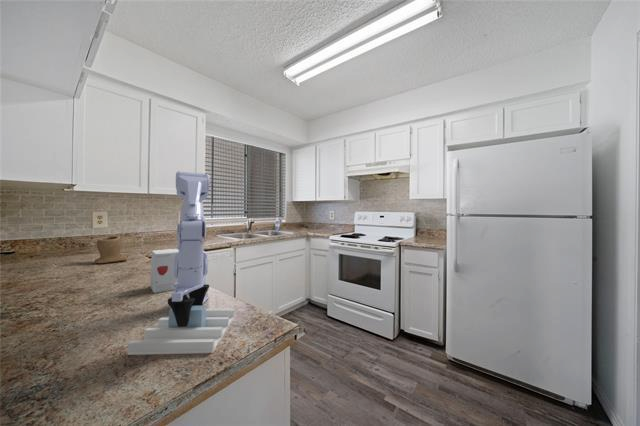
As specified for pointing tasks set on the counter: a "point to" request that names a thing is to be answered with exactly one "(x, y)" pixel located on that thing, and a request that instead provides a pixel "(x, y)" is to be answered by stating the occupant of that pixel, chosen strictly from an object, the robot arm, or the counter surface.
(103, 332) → the counter surface
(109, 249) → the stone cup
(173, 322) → the blue block
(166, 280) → the supplement box
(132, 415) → the counter surface
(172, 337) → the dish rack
